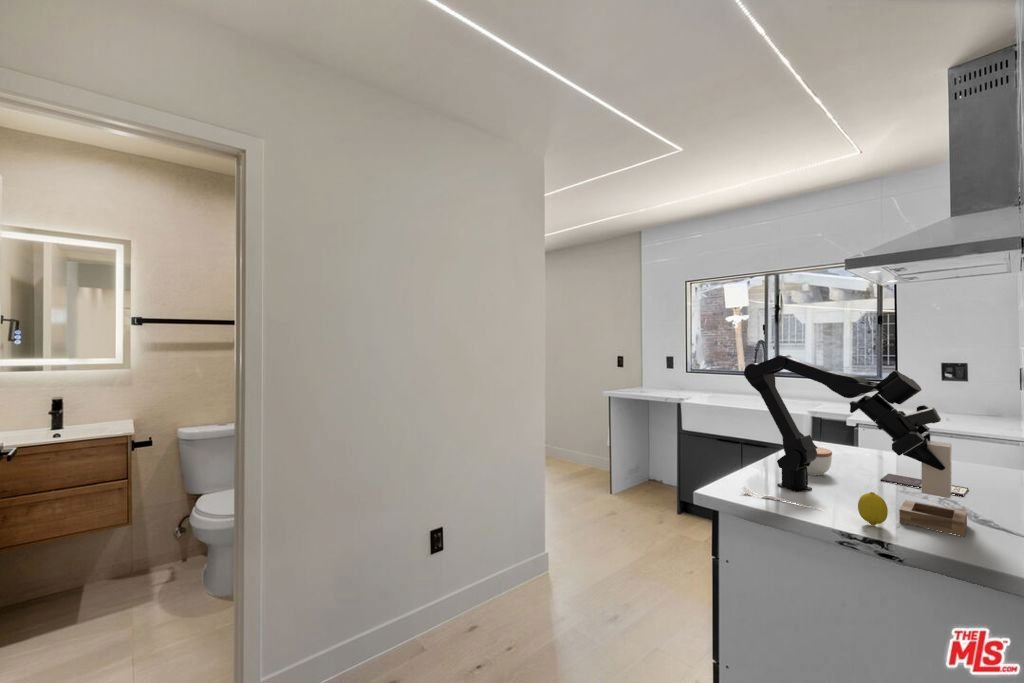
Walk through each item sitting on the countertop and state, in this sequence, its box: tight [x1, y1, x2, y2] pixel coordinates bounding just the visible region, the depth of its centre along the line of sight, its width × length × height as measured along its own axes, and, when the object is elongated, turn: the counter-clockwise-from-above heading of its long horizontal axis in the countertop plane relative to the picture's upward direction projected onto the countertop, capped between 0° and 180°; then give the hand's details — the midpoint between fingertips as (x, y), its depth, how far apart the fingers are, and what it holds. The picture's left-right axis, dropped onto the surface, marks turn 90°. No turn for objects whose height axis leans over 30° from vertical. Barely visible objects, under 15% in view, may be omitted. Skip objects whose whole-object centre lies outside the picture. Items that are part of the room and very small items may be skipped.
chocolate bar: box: [879, 473, 969, 497], centre depth 133 cm, size 9×1×18 cm
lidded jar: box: [807, 446, 833, 477], centre depth 147 cm, size 11×11×9 cm
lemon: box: [857, 491, 889, 527], centre depth 106 cm, size 6×6×8 cm
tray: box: [899, 499, 968, 538], centre depth 107 cm, size 9×11×3 cm
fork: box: [740, 486, 822, 511], centre depth 123 cm, size 3×20×2 cm, turn 44°
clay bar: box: [921, 440, 952, 499], centre depth 108 cm, size 5×5×12 cm
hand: (944, 466), depth 107 cm, fingers closed on clay bar, 5 cm apart
